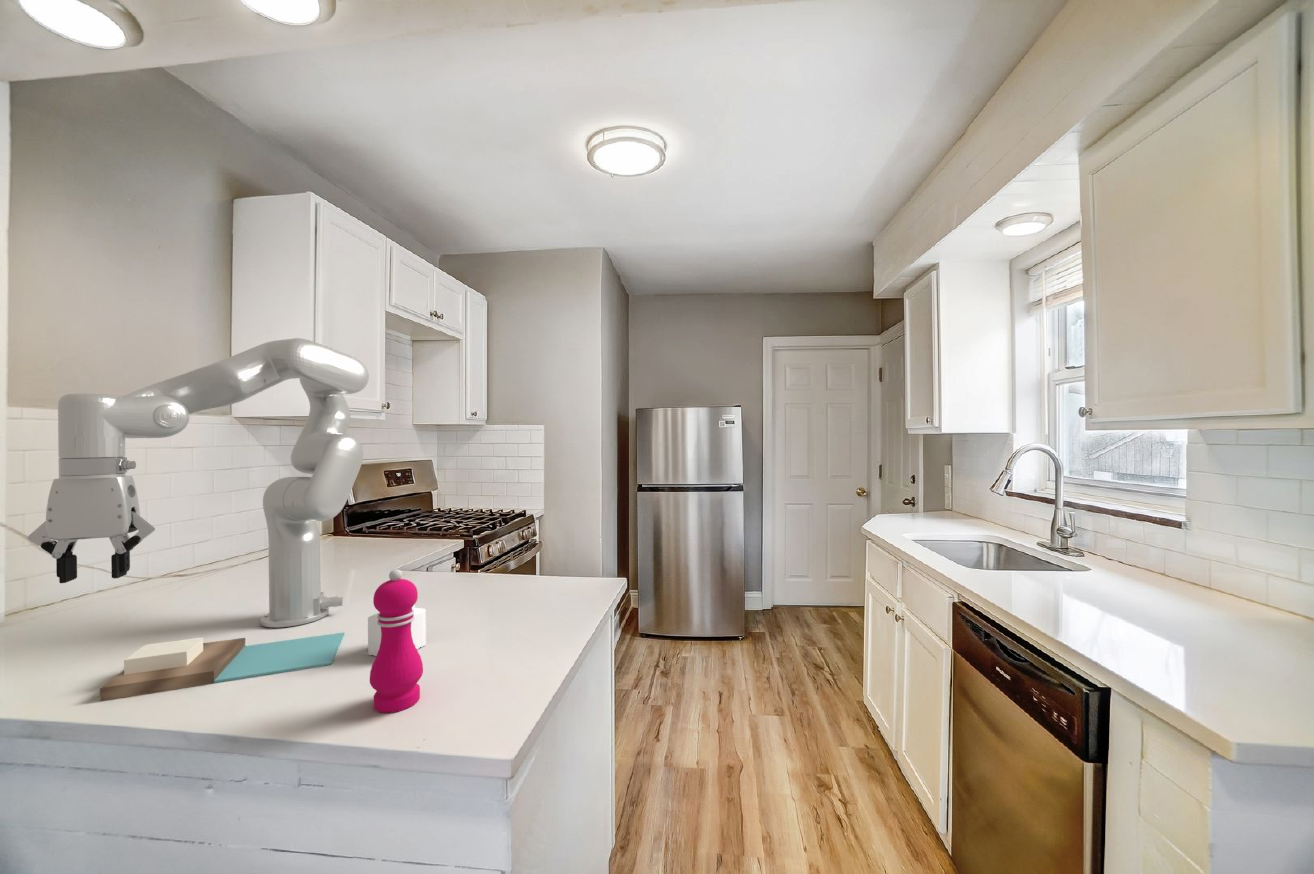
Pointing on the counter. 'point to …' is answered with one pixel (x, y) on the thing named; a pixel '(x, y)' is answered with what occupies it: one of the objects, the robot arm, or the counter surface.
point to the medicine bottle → (416, 630)
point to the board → (176, 672)
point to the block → (163, 656)
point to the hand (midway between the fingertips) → (94, 577)
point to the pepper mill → (396, 647)
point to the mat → (282, 657)
